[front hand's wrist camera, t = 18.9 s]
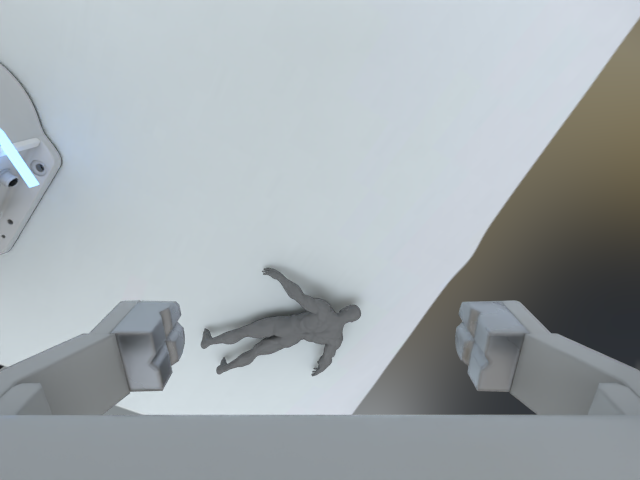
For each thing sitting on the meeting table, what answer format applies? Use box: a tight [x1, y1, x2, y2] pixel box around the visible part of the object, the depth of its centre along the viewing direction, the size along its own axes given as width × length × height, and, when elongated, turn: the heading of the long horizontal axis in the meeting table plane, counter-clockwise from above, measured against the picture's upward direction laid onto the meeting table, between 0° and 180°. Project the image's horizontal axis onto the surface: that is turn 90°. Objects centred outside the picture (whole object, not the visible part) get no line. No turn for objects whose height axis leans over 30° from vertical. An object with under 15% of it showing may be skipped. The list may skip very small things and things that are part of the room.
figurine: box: [201, 268, 361, 376], centre depth 44 cm, size 17×4×20 cm
